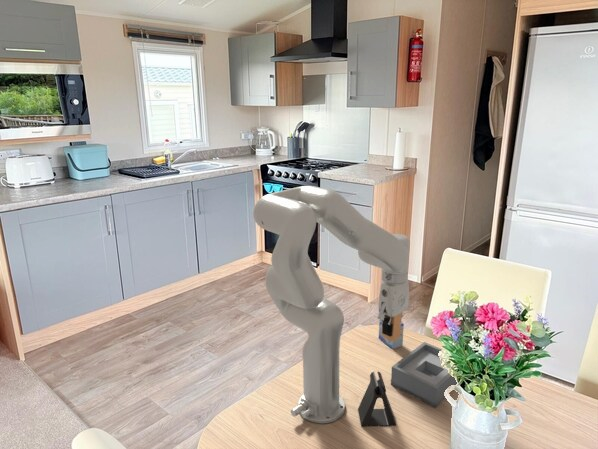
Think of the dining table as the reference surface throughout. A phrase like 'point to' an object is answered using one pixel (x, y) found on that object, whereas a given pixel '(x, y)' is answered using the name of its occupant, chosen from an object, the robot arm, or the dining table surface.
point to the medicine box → (390, 343)
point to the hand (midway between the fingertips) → (391, 331)
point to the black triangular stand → (366, 407)
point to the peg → (395, 327)
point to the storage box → (422, 375)
